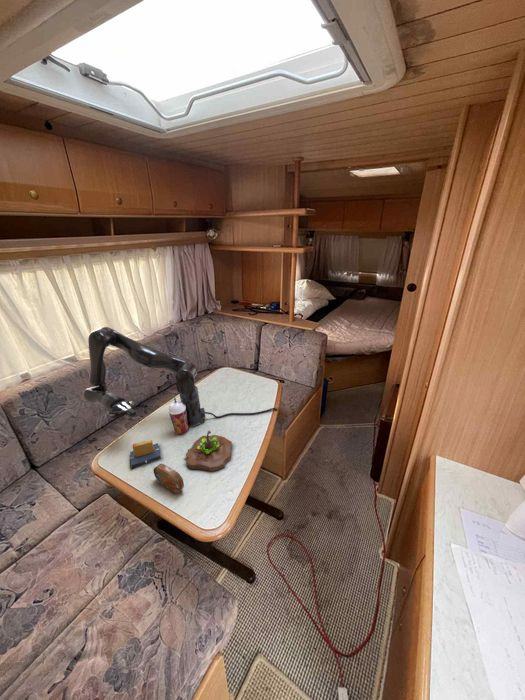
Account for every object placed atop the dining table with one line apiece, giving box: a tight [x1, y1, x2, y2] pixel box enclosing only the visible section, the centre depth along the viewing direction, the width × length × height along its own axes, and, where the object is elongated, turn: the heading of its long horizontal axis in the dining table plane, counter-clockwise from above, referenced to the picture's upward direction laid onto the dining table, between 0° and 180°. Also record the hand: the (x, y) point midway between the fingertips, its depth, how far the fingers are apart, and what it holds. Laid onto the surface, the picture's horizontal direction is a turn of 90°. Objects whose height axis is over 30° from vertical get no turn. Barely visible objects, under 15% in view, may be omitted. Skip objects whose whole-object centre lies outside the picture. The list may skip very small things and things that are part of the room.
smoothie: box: [167, 397, 189, 435], centre depth 135 cm, size 8×8×20 cm
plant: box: [185, 430, 233, 472], centre depth 122 cm, size 20×20×11 cm
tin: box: [153, 463, 185, 494], centre depth 108 cm, size 15×3×8 cm, turn 58°
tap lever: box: [131, 439, 154, 457], centre depth 121 cm, size 8×2×6 cm, turn 110°
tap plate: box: [129, 442, 162, 470], centre depth 123 cm, size 12×12×2 cm
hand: (134, 414), depth 122 cm, fingers closed
